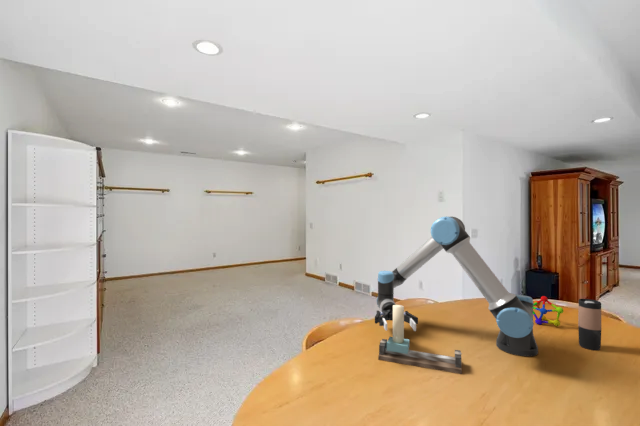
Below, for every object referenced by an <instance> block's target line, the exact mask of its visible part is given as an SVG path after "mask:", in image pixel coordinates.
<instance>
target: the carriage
mask: <svg viewBox="0 0 640 426" xmlns="http://www.w3.org/2000/svg"><path fill="white" fill-rule="evenodd" d="M404 312H405V306H404V305H402V304H396V305H393V320H392V336H388V339H387V351H392V352H398V353H405V354H408V350H410V339H408V338H405V321H404Z"/></svg>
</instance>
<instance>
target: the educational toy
mask: <svg viewBox="0 0 640 426" xmlns="http://www.w3.org/2000/svg"><path fill="white" fill-rule="evenodd" d="M533 303H534V305H533V317H534V318H535V320H534V322H535V324H537V325H538V324H539V325H540V326H541V325H542V324H549V325H550V324H553V325H554V326H555V327H560V326H561V322H560V317H561V314H563V313H564V308H563V307H561V306H557V305H555V304H553V302H551V301H549V299H548V297H547V296H545V295H542V296H541V297H540V299H538V300H537V299H536V300H533ZM541 303H542V307H540V306H541ZM546 303H547V304H548V305H550V306H551V307H553V308H554V309H547V308H546ZM534 310H536V311H538V312H539V316H538V315H537V313H536V312H535V311H534ZM551 312H553V313H555V312H557V313H556V318H555V319H554V320H552V319H549V318H547V317H546V316H545V315H546V314H547V313H551ZM539 325H538V326H539Z"/></svg>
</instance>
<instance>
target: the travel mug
mask: <svg viewBox="0 0 640 426" xmlns="http://www.w3.org/2000/svg"><path fill="white" fill-rule="evenodd" d="M577 312H578V314H577V316H578V318H577V319H578V321H577V325H578V328H577V329H578V330H577V331H578V332H577V333H578V345H579V347H580V348H583V349H585V350H589V351H598V352H599V351H600V350H601V347H602V346H601V345H602V344H601V343H602V302H601V301H599V300H596V299H590V298H579V299H578V311H577Z"/></svg>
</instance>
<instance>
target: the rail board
mask: <svg viewBox="0 0 640 426" xmlns="http://www.w3.org/2000/svg"><path fill="white" fill-rule="evenodd" d="M387 341H388V339H385V338H381V340H380V343H379V345H378V357H377V358H378V360H380V361H385V362H389V363H390V362H391V363H396V364H402V365H408V366H413V367H414V366H415V367H418V368H419V367H420V368H425V369H431V370H437V371H442V372H449V373H454V374H460V375H462V371H463V370H462V355H463V353H462V352H461V351H462V350H459V349H454V356H449V355H444V354H443V355H442V354H436V353H431V352H426V351H425V352H424V351H418V350H413V349H409V350H408V354H405V353H398V352H392V351H387Z"/></svg>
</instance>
